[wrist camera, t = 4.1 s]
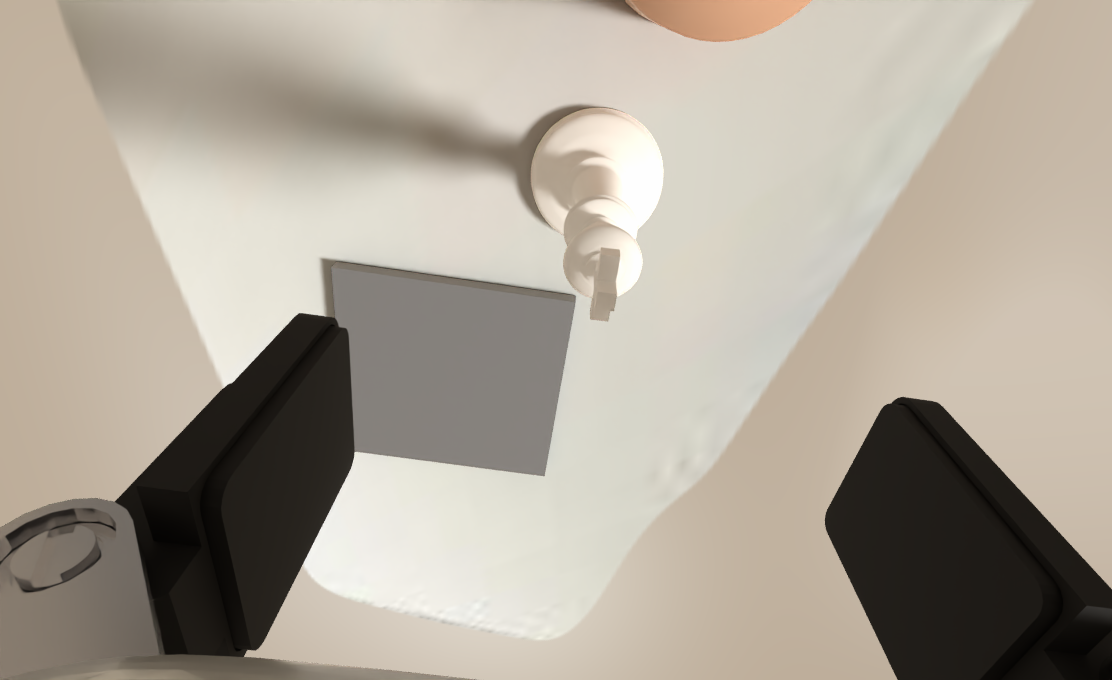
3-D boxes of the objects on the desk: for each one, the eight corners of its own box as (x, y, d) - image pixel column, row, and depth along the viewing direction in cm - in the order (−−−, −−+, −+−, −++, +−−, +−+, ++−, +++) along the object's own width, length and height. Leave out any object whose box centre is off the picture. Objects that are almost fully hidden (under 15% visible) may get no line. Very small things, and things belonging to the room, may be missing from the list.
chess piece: (525, 231, 22) (489, 377, 14) (537, 98, 20) (503, 178, 11) (648, 247, 22) (688, 401, 14) (676, 117, 20) (746, 209, 11)
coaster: (336, 261, 23) (331, 267, 23) (575, 295, 24) (575, 302, 23) (349, 441, 29) (345, 450, 28) (545, 467, 29) (544, 476, 28)
